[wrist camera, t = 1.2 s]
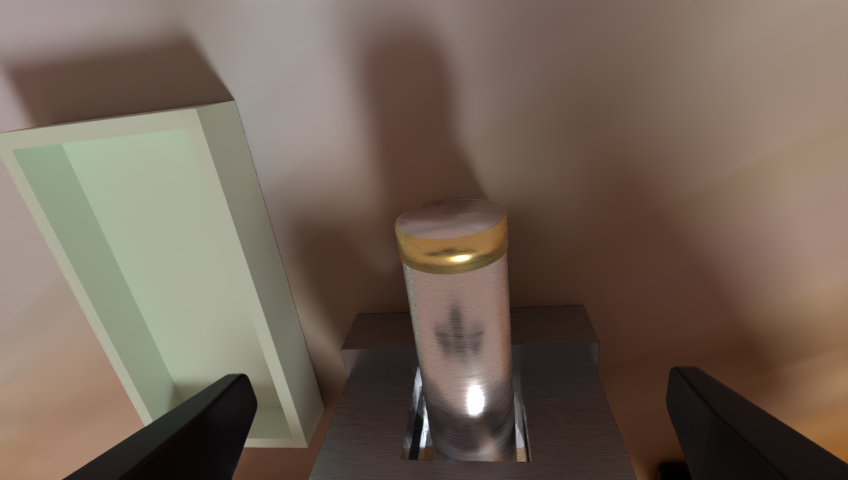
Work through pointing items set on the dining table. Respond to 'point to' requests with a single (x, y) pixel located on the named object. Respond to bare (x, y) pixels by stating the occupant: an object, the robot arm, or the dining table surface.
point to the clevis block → (533, 398)
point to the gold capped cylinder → (462, 325)
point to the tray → (172, 258)
